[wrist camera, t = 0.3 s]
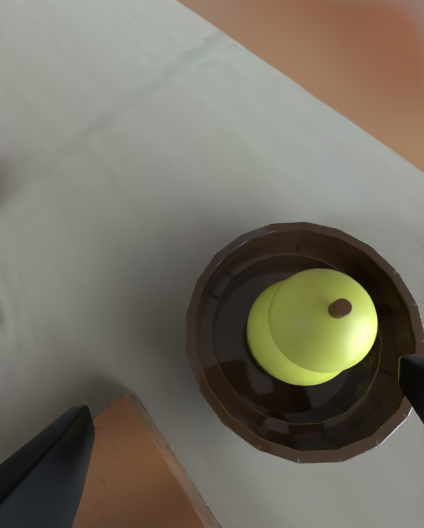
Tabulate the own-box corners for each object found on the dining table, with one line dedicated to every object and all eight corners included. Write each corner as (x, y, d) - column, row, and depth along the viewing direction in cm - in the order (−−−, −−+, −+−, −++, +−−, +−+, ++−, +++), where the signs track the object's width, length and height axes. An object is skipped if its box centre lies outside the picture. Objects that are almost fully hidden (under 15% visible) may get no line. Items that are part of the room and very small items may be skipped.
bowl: (426, 352, 22) (479, 348, 18) (280, 490, 20) (297, 528, 15) (292, 217, 26) (306, 185, 22) (158, 320, 24) (141, 309, 19)
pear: (353, 342, 22) (470, 320, 12) (285, 403, 21) (345, 440, 11) (291, 275, 24) (342, 201, 13) (226, 328, 23) (224, 293, 12)
